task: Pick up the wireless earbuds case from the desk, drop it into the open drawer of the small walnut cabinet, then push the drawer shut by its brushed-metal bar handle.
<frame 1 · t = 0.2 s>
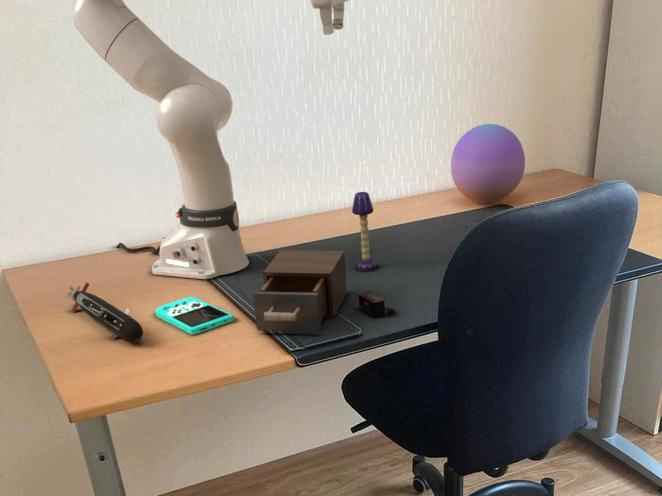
hand: (333, 31, 163), 48 cm above the table, tool pointing down, fingers open, 8 cm apart
wireless earbuds: (377, 313, 167), on the table
drawer: (291, 305, 160), point 5 cm above the table, slide at 8.0 cm
ball: (486, 202, 231), on the table
cabinet: (308, 304, 172), on the table
submarine model: (101, 326, 168), on the table
handheld game console: (193, 318, 169), on the table
toy lamp: (365, 269, 189), on the table
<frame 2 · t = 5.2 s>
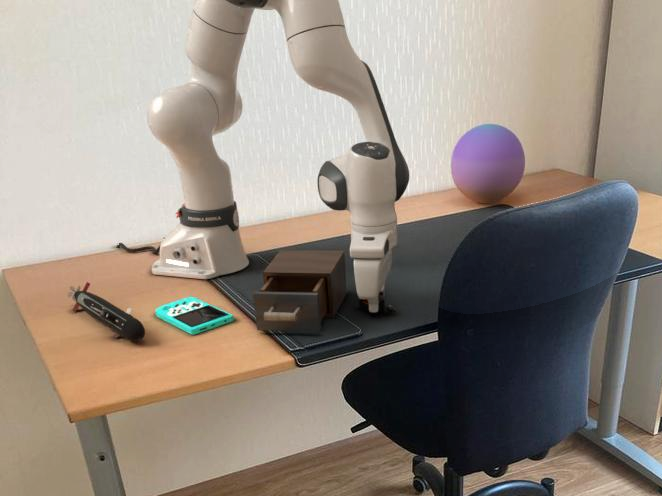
hand: (377, 304, 166), 2 cm above the table, tool pointing down, fingers closed on wireless earbuds, 5 cm apart
wireless earbuds: (377, 312, 167), on the table, touching gripper
everything else where it was.
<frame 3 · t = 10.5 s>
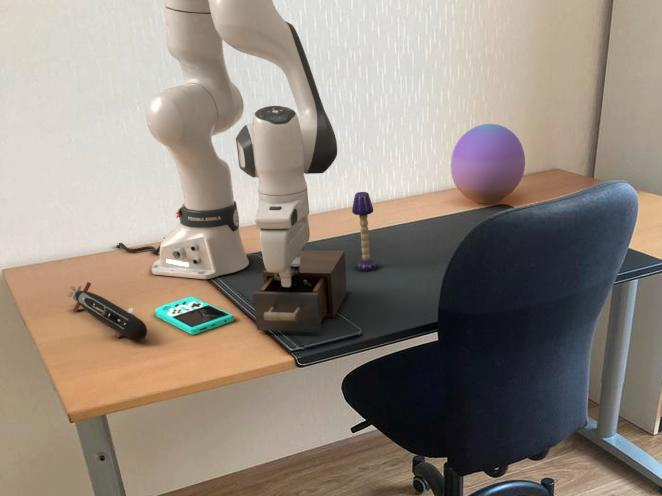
hand: (291, 279, 158), 9 cm above the table, tool pointing down, fingers closed on wireless earbuds, 5 cm apart
wireless earbuds: (292, 288, 160), point 7 cm above the table, touching gripper
everything else where it was.
when the fingers open (9 cm above the table, at t = 16.7 s): wireless earbuds drops 5 cm, resting on drawer.
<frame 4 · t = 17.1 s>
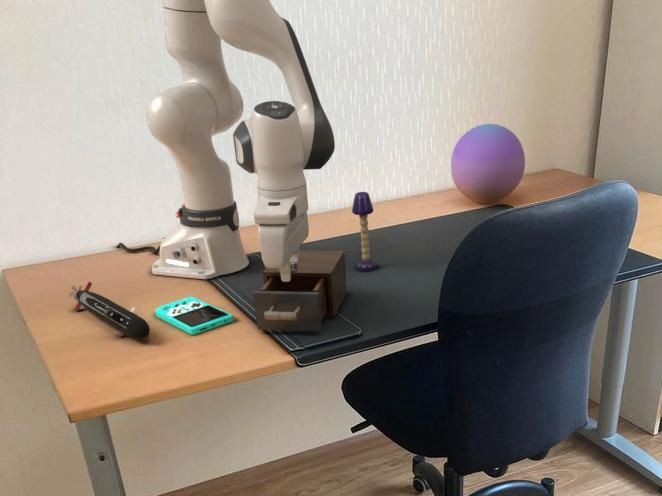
hand: (290, 275, 158), 10 cm above the table, tool pointing down, fingers open, 3 cm apart
wireless earbuds: (293, 315, 162), point 2 cm above the table, touching drawer
drawer: (292, 304, 160), point 5 cm above the table, slide at 7.7 cm, touching wireless earbuds
everything else where it was.
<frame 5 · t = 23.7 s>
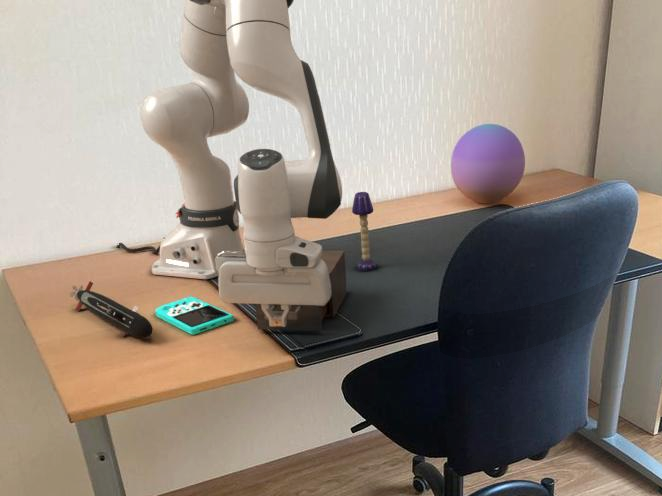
hand: (278, 325, 153), 4 cm above the table, tool pointing down, fingers closed, pressing on drawer
drawer: (292, 304, 160), point 5 cm above the table, slide at 7.5 cm, touching gripper, wireless earbuds
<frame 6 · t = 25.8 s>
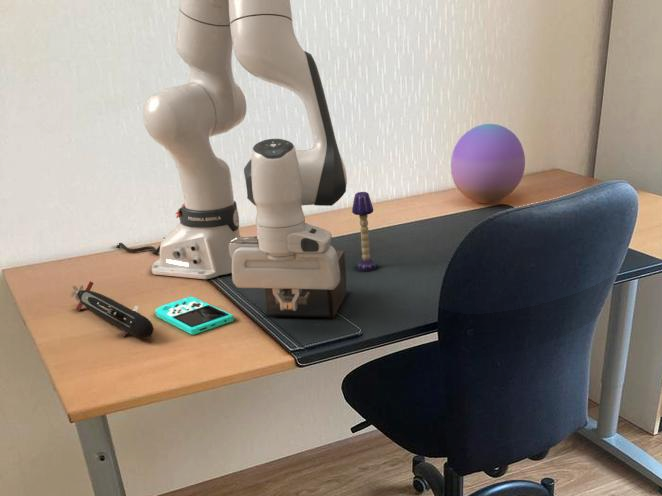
hand: (289, 309, 159), 4 cm above the table, tool pointing down, fingers closed, pressing on drawer
wireless earbuds: (303, 301, 169), point 2 cm above the table, touching drawer
drawer: (301, 290, 166), point 5 cm above the table, slide at 0.0 cm, touching cabinet, gripper, wireless earbuds
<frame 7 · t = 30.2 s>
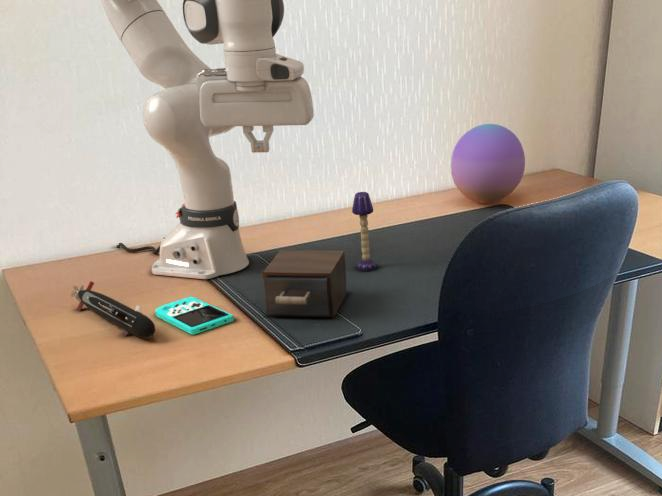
hand: (260, 151, 151), 31 cm above the table, tool pointing down, fingers closed
drawer: (301, 290, 166), point 5 cm above the table, slide at 0.0 cm, touching wireless earbuds
at the end: wireless earbuds inside the target area in the cabinet (2.0 cm from its centre), point 1.8 cm above the cabinet's base; drawer slide at 0.0 cm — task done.
